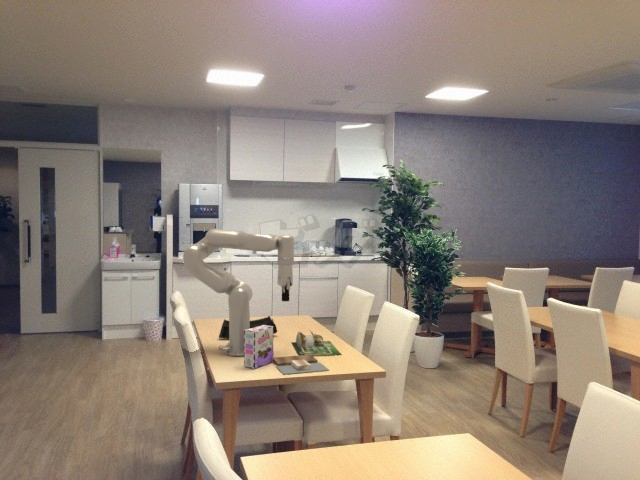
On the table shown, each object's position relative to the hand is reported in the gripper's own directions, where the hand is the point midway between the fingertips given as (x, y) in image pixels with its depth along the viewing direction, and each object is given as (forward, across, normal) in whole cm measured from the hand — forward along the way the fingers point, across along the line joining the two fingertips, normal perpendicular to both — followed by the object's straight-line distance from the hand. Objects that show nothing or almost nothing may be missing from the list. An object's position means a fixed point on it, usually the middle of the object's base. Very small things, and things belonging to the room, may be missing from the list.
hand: (285, 300), depth 263 cm
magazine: (+26, -38, -9) cm, 47 cm away
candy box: (+25, +14, -16) cm, 33 cm away
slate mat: (+25, +26, 0) cm, 36 cm away
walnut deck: (+25, +15, 0) cm, 29 cm away
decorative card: (+26, -8, +17) cm, 32 cm away
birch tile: (+24, +25, 0) cm, 34 cm away
